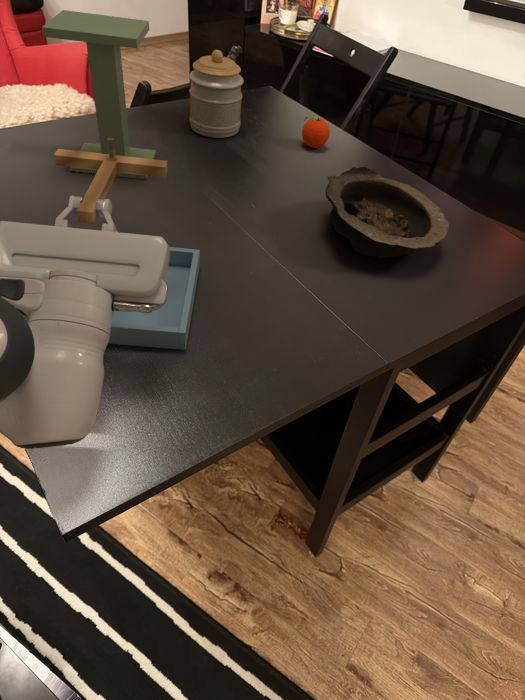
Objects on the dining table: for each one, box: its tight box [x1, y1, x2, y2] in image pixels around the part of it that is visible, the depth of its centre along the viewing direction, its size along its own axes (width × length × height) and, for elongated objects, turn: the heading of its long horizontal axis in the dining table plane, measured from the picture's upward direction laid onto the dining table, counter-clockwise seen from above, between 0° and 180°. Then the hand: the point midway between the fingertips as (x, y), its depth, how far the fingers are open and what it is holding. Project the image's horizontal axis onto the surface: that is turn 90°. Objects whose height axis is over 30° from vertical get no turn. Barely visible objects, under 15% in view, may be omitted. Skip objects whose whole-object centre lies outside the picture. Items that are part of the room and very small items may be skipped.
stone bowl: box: [325, 166, 450, 259], centre depth 93 cm, size 25×25×9 cm
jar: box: [188, 49, 245, 139], centre depth 116 cm, size 13×13×18 cm
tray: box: [107, 246, 201, 351], centre depth 75 cm, size 20×20×4 cm
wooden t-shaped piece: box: [53, 138, 169, 224], centre depth 61 cm, size 15×15×4 cm
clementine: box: [301, 115, 331, 149], centre depth 119 cm, size 8×7×7 cm
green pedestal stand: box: [41, 9, 157, 181], centre depth 96 cm, size 16×12×26 cm
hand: (91, 199), depth 59 cm, fingers closed on wooden t-shaped piece, 2 cm apart
